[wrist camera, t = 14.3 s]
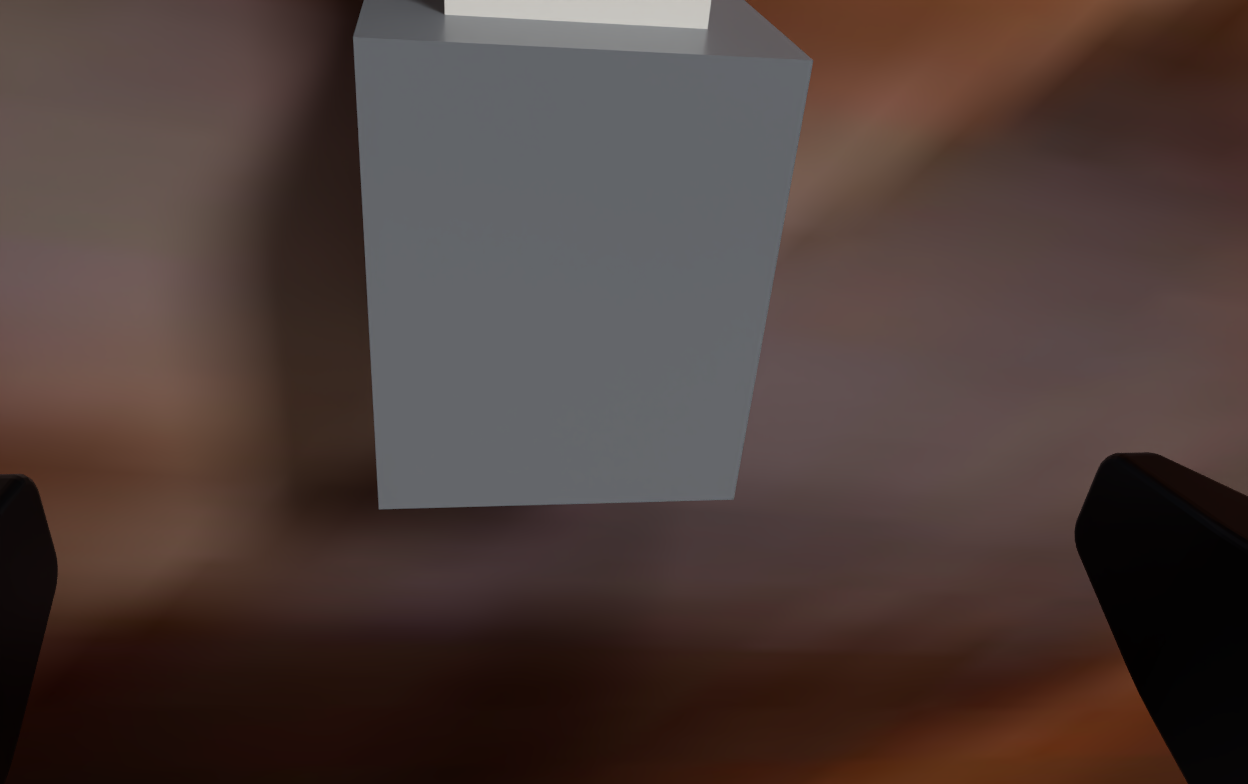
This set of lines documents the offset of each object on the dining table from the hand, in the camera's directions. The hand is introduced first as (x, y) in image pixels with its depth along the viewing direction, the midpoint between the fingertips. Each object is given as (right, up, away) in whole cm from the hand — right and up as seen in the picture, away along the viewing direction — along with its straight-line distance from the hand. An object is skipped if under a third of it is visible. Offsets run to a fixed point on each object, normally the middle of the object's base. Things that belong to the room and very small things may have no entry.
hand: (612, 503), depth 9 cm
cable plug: (0, +9, +2) cm, 9 cm away
